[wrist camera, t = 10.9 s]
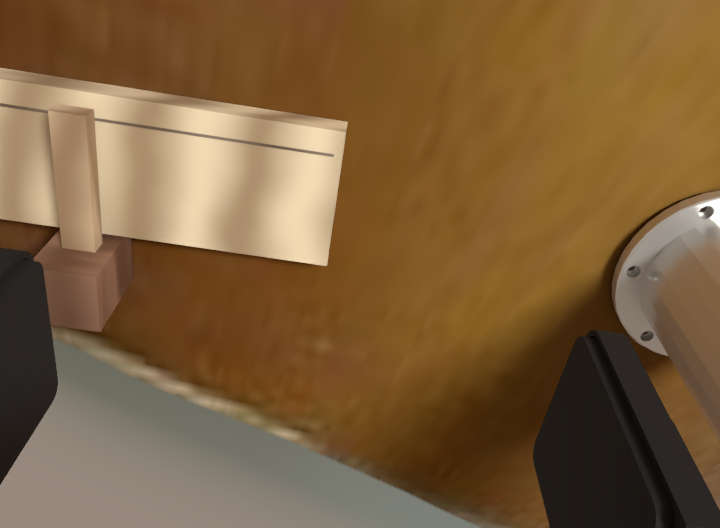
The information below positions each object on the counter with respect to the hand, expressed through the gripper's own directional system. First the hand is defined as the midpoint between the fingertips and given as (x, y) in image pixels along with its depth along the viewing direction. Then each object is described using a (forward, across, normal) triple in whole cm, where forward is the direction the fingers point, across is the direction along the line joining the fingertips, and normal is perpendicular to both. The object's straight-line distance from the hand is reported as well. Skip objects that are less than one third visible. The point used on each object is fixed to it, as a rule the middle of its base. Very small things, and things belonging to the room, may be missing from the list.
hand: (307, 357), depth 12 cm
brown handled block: (+28, +15, +12) cm, 34 cm away
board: (+28, +11, +10) cm, 32 cm away
